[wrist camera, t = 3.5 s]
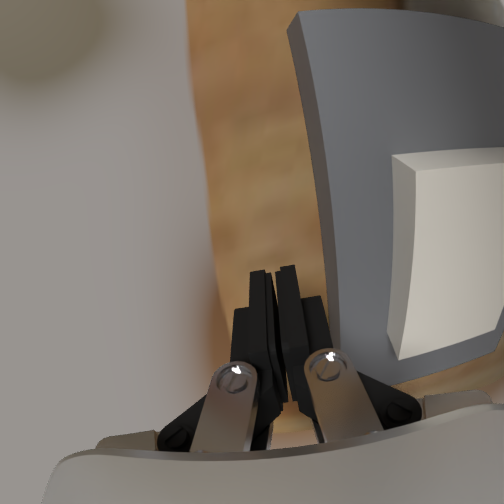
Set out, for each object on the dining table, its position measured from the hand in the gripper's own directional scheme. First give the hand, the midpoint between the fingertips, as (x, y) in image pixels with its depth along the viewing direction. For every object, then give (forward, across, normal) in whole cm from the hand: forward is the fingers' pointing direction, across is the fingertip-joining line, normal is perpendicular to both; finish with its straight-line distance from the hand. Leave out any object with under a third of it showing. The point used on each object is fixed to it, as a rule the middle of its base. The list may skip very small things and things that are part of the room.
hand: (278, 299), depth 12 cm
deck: (+5, -8, 0) cm, 10 cm away
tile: (+1, -8, 0) cm, 8 cm away
